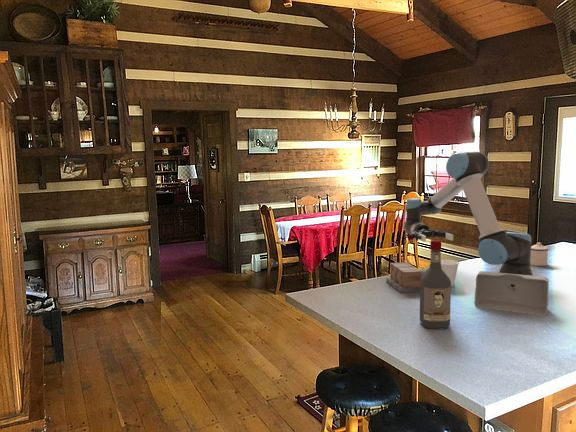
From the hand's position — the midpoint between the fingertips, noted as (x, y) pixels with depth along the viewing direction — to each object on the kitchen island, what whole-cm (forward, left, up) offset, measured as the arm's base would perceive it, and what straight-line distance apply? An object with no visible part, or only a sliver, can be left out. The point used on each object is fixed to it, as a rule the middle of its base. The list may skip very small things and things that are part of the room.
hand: (438, 238), depth 219 cm
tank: (-41, +6, -21) cm, 47 cm away
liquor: (-39, +47, -20) cm, 64 cm away
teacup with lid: (-7, -66, -20) cm, 70 cm away
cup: (-8, +4, -20) cm, 22 cm away
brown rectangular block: (+2, +20, -20) cm, 28 cm away
